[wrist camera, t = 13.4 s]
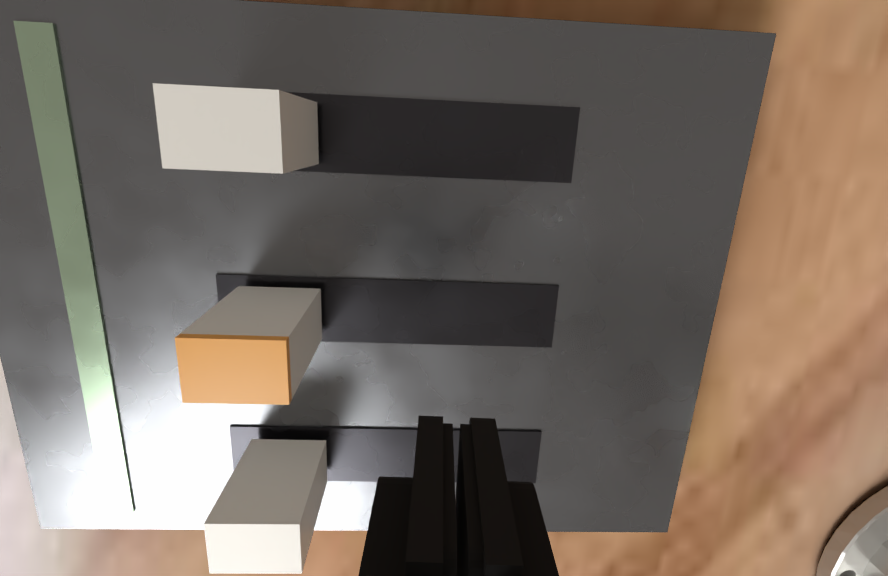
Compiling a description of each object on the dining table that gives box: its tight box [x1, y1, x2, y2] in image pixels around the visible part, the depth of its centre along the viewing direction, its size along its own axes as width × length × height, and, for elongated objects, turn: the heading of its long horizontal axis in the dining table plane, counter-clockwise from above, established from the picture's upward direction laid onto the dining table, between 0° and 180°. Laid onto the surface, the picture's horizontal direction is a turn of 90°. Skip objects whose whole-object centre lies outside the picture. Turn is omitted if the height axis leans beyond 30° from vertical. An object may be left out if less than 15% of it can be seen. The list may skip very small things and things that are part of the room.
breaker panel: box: [0, 0, 776, 532], centre depth 20 cm, size 28×21×2 cm
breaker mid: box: [175, 286, 322, 405], centre depth 16 cm, size 3×2×5 cm, turn 87°
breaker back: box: [204, 439, 327, 574], centre depth 18 cm, size 3×2×5 cm, turn 87°
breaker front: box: [153, 83, 319, 174], centre depth 14 cm, size 3×2×5 cm, turn 87°
